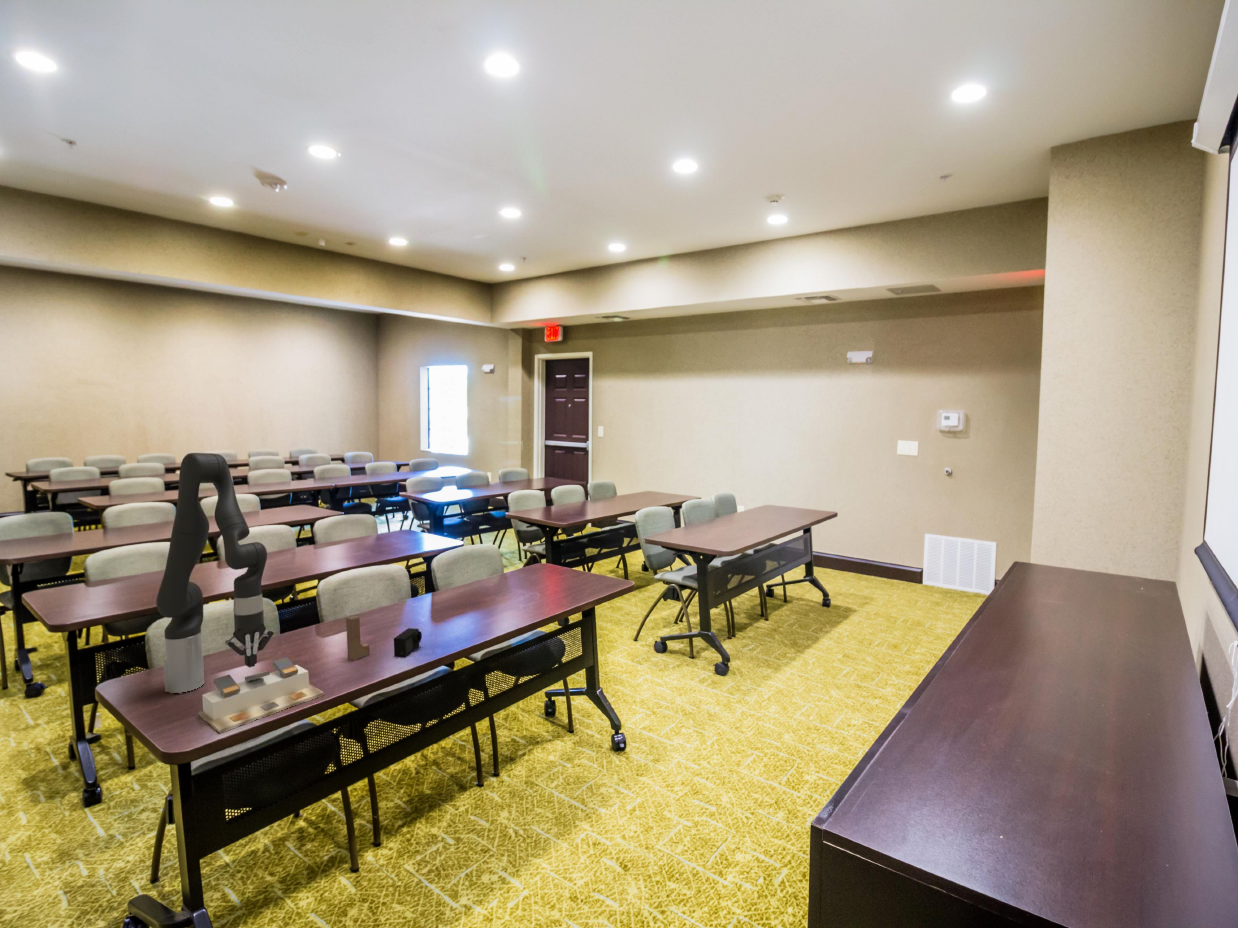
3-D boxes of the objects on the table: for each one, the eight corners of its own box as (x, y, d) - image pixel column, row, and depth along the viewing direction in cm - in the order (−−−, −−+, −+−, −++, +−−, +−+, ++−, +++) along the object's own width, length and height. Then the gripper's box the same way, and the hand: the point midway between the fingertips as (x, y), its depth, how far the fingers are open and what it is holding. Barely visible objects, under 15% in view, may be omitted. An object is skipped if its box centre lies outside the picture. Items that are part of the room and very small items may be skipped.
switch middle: (255, 679, 175) (254, 674, 175) (245, 681, 179) (244, 676, 180) (269, 674, 178) (269, 670, 178) (259, 676, 183) (259, 672, 183)
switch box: (213, 719, 167) (212, 699, 166) (203, 711, 171) (201, 691, 171) (309, 686, 187) (308, 668, 186) (297, 679, 192) (296, 662, 191)
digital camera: (408, 658, 211) (407, 638, 211) (394, 657, 212) (393, 638, 212) (422, 646, 221) (421, 628, 221) (408, 646, 222) (408, 627, 222)
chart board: (219, 733, 161) (219, 729, 161) (198, 715, 171) (198, 711, 171) (324, 695, 183) (323, 691, 183) (300, 681, 193) (299, 677, 193)
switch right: (284, 677, 181) (284, 673, 181) (272, 664, 186) (273, 660, 185) (297, 672, 184) (298, 669, 184) (286, 660, 189) (286, 656, 189)
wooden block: (352, 660, 209) (351, 619, 208) (347, 658, 211) (345, 617, 209) (369, 654, 214) (368, 613, 213) (364, 652, 216) (362, 612, 215)
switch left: (224, 697, 169) (224, 693, 168) (213, 682, 173) (213, 678, 173) (240, 691, 172) (240, 688, 171) (229, 677, 176) (229, 673, 176)
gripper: (228, 618, 171) (230, 676, 172) (277, 607, 181) (279, 662, 183) (218, 612, 176) (221, 669, 177) (267, 602, 186) (269, 656, 187)
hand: (251, 666), depth 180 cm, fingers closed
